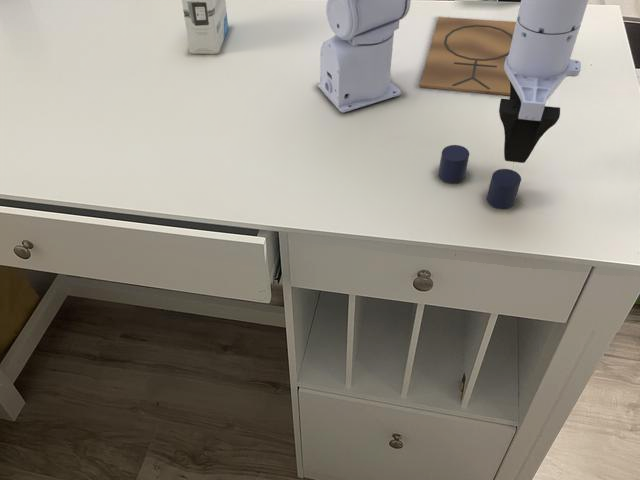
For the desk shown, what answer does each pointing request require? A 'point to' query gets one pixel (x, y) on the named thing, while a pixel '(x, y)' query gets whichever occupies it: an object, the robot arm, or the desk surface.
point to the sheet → (469, 56)
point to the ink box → (205, 25)
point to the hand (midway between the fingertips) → (517, 138)
